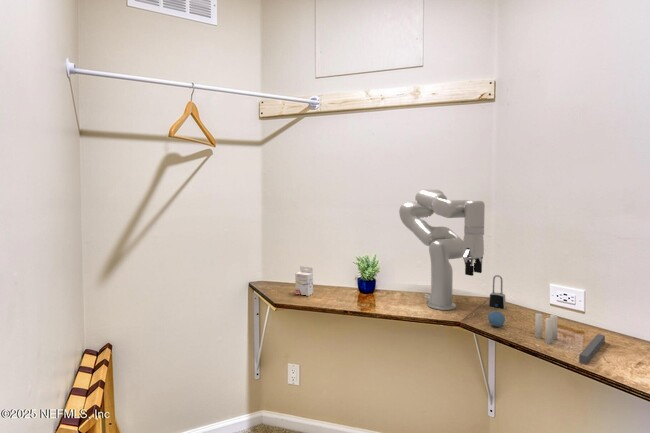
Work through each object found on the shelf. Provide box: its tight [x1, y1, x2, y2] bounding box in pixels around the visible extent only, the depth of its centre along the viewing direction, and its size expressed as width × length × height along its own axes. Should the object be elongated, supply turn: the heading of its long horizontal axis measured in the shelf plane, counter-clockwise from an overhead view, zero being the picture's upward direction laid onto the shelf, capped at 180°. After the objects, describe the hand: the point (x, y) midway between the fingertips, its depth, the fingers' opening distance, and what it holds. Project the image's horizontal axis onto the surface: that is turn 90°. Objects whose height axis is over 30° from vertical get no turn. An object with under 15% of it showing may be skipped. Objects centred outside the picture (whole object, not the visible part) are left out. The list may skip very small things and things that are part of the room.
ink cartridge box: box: [294, 266, 314, 295], centre depth 186 cm, size 9×5×15 cm, turn 58°
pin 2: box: [549, 314, 559, 341], centre depth 126 cm, size 2×2×8 cm
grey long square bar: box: [578, 333, 606, 365], centre depth 115 cm, size 2×24×2 cm, turn 131°
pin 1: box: [544, 317, 554, 345], centre depth 122 cm, size 2×2×8 cm
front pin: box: [534, 313, 544, 340], centre depth 127 cm, size 2×2×8 cm
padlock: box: [488, 274, 507, 310], centre depth 162 cm, size 7×4×15 cm, turn 53°
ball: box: [487, 310, 506, 328], centre depth 138 cm, size 6×6×6 cm
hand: (473, 273), depth 145 cm, fingers open, 6 cm apart
